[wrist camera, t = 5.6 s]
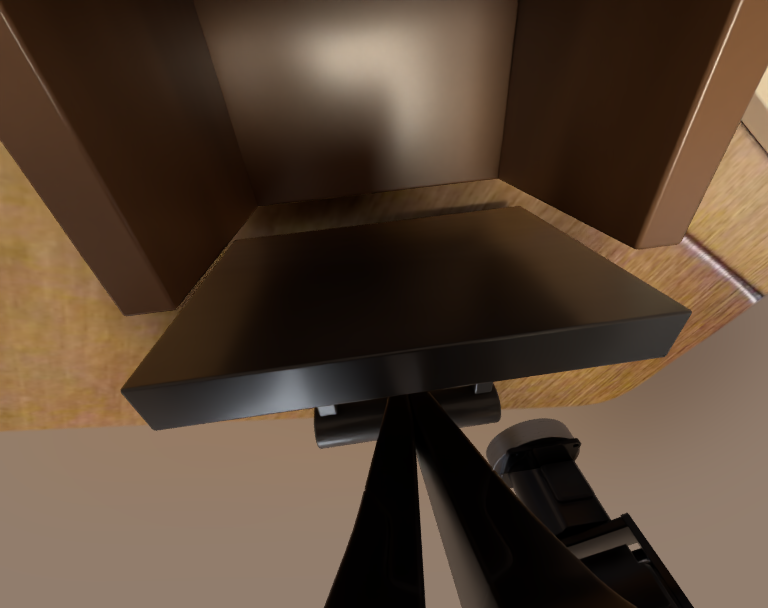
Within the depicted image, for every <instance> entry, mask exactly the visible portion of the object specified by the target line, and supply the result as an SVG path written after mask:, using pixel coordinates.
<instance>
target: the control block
mask: <svg viewBox="0 0 768 608" xmlns="http://www.w3.org/2000/svg"><path fill="white" fill-rule="evenodd" d="M741 120H742V122H743V123H744V124H745V125H746V127H747V128H748V129H749V130H750V132H751V133H752V134H753V135H754V137H755V138H756V139H757V140H758V142H759V143H760V144H761V145H762V147H763V148H764V149H765V150H766V152H767V153H768V67H767V69H766V71H765V73H764V75H763V77H762V79H761V81H760V83H759V85H758V87H757V89H756V91H755V93H754V95H753V97H752V99H751V101H750V103H749V105H748V107H747V109H746V111H745V113H744V115H743V117H742V119H741Z"/></svg>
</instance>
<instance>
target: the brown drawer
mask: <svg viewBox="0 0 768 608" xmlns="http://www.w3.org/2000/svg"><path fill="white" fill-rule="evenodd" d="M767 67H768V0H0V140H1V142H2V143H3V145H4V146H5V148H6V149H7V150H8V152H9V153H10V155H11V156H12V158H13V159H14V160H15V162H16V163H17V165H18V166H19V167H20V169H21V170H22V172H23V173H24V175H25V176H26V177H27V179H28V180H29V182H30V183H31V185H32V186H33V187H34V189H35V190H36V192H37V193H38V195H39V196H40V197H41V199H42V200H43V202H44V203H45V204H46V206H47V207H48V209H49V210H50V212H51V213H52V214H53V216H54V217H55V219H56V220H57V222H58V223H59V224H60V226H61V227H62V229H63V230H64V232H65V233H66V234H67V236H68V237H69V239H70V240H71V241H72V243H73V244H74V246H75V247H76V249H77V250H78V251H79V253H80V254H81V256H82V257H83V259H84V260H85V261H86V263H87V264H88V266H89V267H90V269H91V270H92V271H93V273H94V274H95V276H96V277H97V278H98V280H99V281H100V283H101V284H102V286H103V287H104V288H105V290H106V291H107V293H108V294H109V296H110V297H111V298H112V300H113V301H114V303H115V304H116V306H117V307H118V308H119V310H120V311H121V313H122V314H123V315H124V316H132V315H140V314H147V313H155V312H163V311H171V310H175V309H176V308H177V307H178V306H179V305H180V303H181V302H182V301H183V300H184V298H185V297H186V296H187V295H188V293H189V292H190V291H191V290H192V288H193V287H194V286H195V285H196V283H197V282H198V281H199V280H200V278H201V277H202V276H203V275H204V273H205V272H206V271H207V270H208V268H209V267H210V266H211V265H212V263H213V262H214V261H215V260H216V258H217V257H218V256H219V255H220V253H221V252H222V251H223V250H224V248H225V247H226V246H227V245H228V243H229V242H230V241H231V240H232V238H233V237H234V236H235V235H236V233H237V232H238V231H239V230H240V228H241V227H242V226H243V225H244V223H245V222H246V221H247V220H248V218H249V217H250V216H251V215H252V213H253V212H254V211H255V210H256V208H257V207H258V206H267V205H275V204H284V203H292V202H301V201H310V200H318V199H327V198H335V197H344V196H353V195H361V194H370V193H378V192H387V191H395V190H404V189H413V188H421V187H430V186H438V185H447V184H456V183H464V182H473V181H481V180H490V179H500V180H502V181H504V182H506V183H508V184H510V185H512V186H514V187H516V188H518V189H520V190H522V191H523V192H525V193H527V194H529V195H531V196H533V197H535V198H537V199H539V200H541V201H543V202H545V203H547V204H549V205H551V206H553V207H554V208H556V209H558V210H560V211H562V212H564V213H566V214H568V215H570V216H572V217H574V218H576V219H578V220H580V221H582V222H583V223H585V224H587V225H589V226H591V227H593V228H595V229H597V230H599V231H601V232H603V233H605V234H607V235H609V236H611V237H613V238H614V239H616V240H618V241H620V242H622V243H624V244H626V245H628V246H630V247H632V248H634V249H647V248H655V247H662V246H670V245H677V244H679V243H680V242H681V241H682V239H683V237H684V235H685V233H686V231H687V229H688V227H689V225H690V223H691V221H692V219H693V217H694V215H695V213H696V211H697V209H698V207H699V205H700V203H701V201H702V199H703V197H704V194H705V192H706V190H707V188H708V186H709V184H710V182H711V180H712V178H713V176H714V174H715V172H716V170H717V168H718V166H719V164H720V162H721V160H722V158H723V156H724V154H725V152H726V150H727V148H728V146H729V144H730V142H731V140H732V138H733V136H734V134H735V132H736V129H737V127H738V125H739V123H740V121H741V119H742V117H743V115H744V113H745V111H746V109H747V107H748V105H749V103H750V101H751V99H752V97H753V95H754V93H755V91H756V89H757V87H758V85H759V83H760V81H761V79H762V77H763V75H764V73H765V71H766V69H767ZM691 313H692V311H691V310H690V309H688V308H687V307H685V306H683V305H682V304H680V303H678V302H677V301H675V300H673V299H672V298H670V297H669V296H667V295H665V294H664V293H662V292H660V291H659V290H657V289H655V288H654V287H652V286H650V285H649V284H647V283H646V282H644V281H642V280H641V279H639V278H637V277H636V276H634V275H632V274H631V273H629V272H627V271H626V270H624V269H623V268H621V267H619V266H618V265H616V264H614V263H613V262H611V261H609V260H608V259H606V258H604V257H603V256H601V255H600V254H598V253H596V252H595V251H593V250H591V249H590V248H588V247H586V246H585V245H583V244H582V243H580V242H578V241H577V240H575V239H573V238H572V237H570V236H568V235H567V234H565V233H563V232H562V231H560V230H559V229H557V228H555V227H554V226H552V225H550V224H549V223H547V222H545V221H544V220H542V219H540V218H539V217H537V216H536V215H534V214H532V213H531V212H529V211H527V210H526V209H524V208H522V207H521V206H515V207H506V208H498V209H490V210H482V211H473V212H465V213H457V214H448V215H440V216H432V217H424V218H415V219H407V220H399V221H390V222H382V223H374V224H365V225H357V226H349V227H341V228H332V229H324V230H316V231H307V232H299V233H291V234H283V235H274V236H266V237H258V238H249V239H241V240H235V241H234V242H233V244H232V245H231V246H230V248H229V249H228V250H227V252H226V253H225V254H224V255H223V257H222V258H221V259H220V261H219V262H218V263H217V265H216V266H215V267H214V268H213V270H212V271H211V272H210V274H209V275H208V276H207V278H206V279H205V280H204V281H203V283H202V284H201V285H200V287H199V288H198V289H197V291H196V292H195V293H194V295H193V296H192V297H191V298H190V300H189V301H188V302H187V304H186V305H185V306H184V308H183V309H182V310H181V311H180V313H179V314H178V315H177V317H176V318H175V319H174V321H173V322H172V323H171V324H170V326H169V327H168V328H167V330H166V331H165V332H164V334H163V335H162V336H161V337H160V339H159V340H158V341H157V343H156V344H155V345H154V347H153V348H152V349H151V350H150V352H149V353H148V354H147V356H146V357H145V358H144V360H143V361H142V362H141V363H140V365H139V366H138V367H137V369H136V370H135V371H134V373H133V374H132V375H131V377H130V378H129V379H128V380H127V382H126V383H125V384H124V386H123V387H122V388H121V393H122V395H123V396H124V397H125V398H126V399H127V400H128V401H129V403H130V404H131V405H132V406H133V407H134V408H135V410H136V411H137V412H138V413H139V414H140V415H141V417H142V418H143V419H144V420H145V421H146V422H147V424H148V425H149V426H150V427H151V428H152V429H153V430H156V431H157V430H163V429H170V428H177V427H184V426H191V425H198V424H205V423H212V422H219V421H226V420H233V419H239V418H246V417H253V416H260V415H267V414H274V413H281V412H288V411H295V410H302V409H308V408H315V409H314V430H315V437H316V442H317V445H318V447H319V448H321V449H323V448H329V447H335V446H343V445H349V444H356V443H363V442H368V441H376V440H377V439H378V435H379V431H380V427H381V423H382V420H383V416H384V412H385V408H386V404H387V400H388V397H391V396H398V395H405V394H412V393H419V392H426V391H429V392H430V393H431V395H432V396H433V397H434V398H435V399H436V401H437V402H438V403H439V404H440V405H441V407H442V408H443V409H444V410H445V411H446V413H447V414H448V415H449V416H450V417H451V419H452V420H453V421H454V422H455V424H456V425H457V426H458V427H459V428H462V427H469V426H475V425H482V424H489V423H495V422H498V421H499V420H500V418H501V405H500V400H499V396H498V393H497V390H496V388H495V386H494V384H493V382H495V381H502V380H509V379H516V378H522V377H529V376H536V375H543V374H550V373H557V372H564V371H571V370H578V369H585V368H591V367H598V366H605V365H612V364H619V363H626V362H633V361H640V360H647V359H654V358H660V357H665V356H666V355H667V354H668V352H669V350H670V349H671V347H672V345H673V344H674V342H675V340H676V339H677V337H678V335H679V334H680V332H681V330H682V329H683V327H684V325H685V324H686V322H687V320H688V319H689V317H690V315H691Z"/></svg>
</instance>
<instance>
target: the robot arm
mask: <svg viewBox="0 0 768 608" xmlns="http://www.w3.org/2000/svg"><path fill="white" fill-rule="evenodd" d="M580 446H581V442H580V441H579V439H578V438H571V439H565V440H558V441H552V442H545V443H539V444H532V445H526V446H519V447H513V448H510V449H508V450H507V451H506V455H505V458H504V462H503V466H502V470H501V474H500V476H499V475H498V474H497V473H496V471H494V470H493V471H492V467H491V466H490V464H489V463H488V462H487V461H486V460H485V459H484V457H483V456H482V455H481V454H480V452H479V451H478V450H477V449H476V448H475V446H474V445H473V444H472V443H471V442H470V440H469V439H468V438H467V437H466V436H465V434H464V433H463V432H462V431H461V430H460V429H459V427H458V426H457V425H456V424H455V422H454V421H453V420H452V419H451V417H450V416H449V415H448V414H447V413H446V411H445V410H444V409H443V408H442V407H441V405H440V404H439V403H438V402H437V401H436V399H435V398H434V397H433V396H432V395H431V393H430V392H429V391H426V392H419V393H412V394H405V395H398V396H391V397H388V400H387V404H386V408H385V412H384V416H383V420H382V423H381V427H380V431H379V435H378V439H377V443H376V447H375V451H374V455H373V458H372V462H371V466H370V470H369V474H368V478H367V481H366V486H365V491H364V492H363V496H362V500H361V504H360V508H359V511H358V515H357V518H356V521H355V525H354V528H353V532H352V534H351V537H350V540H349V542H348V546H347V548H346V551H345V554H344V556H343V559H342V562H341V564H340V567H339V570H338V572H337V575H336V578H335V580H334V583H333V585H332V588H331V590H330V593H329V596H328V598H327V601H326V604H325V606H324V608H426V607H425V590H424V575H423V559H422V542H421V526H420V510H419V495H418V478H417V463H416V462H417V461H416V455H417V458H418V461H419V465H420V469H421V472H422V475H423V479H424V482H425V485H426V489H427V492H428V495H429V499H430V502H431V505H432V509H433V512H434V516H435V519H436V522H437V526H438V529H439V532H440V536H441V539H442V542H443V546H444V549H445V552H446V556H447V559H448V562H449V566H450V569H451V573H452V576H453V579H454V583H455V586H456V589H457V593H458V596H459V599H460V603H461V606H462V608H694V607H693V606H692V604H691V603H690V602H689V600H688V598H687V597H686V596H685V594H684V593H683V591H682V590H681V589H680V587H679V585H678V584H677V583H676V581H675V580H674V578H673V577H672V575H671V574H670V573H669V571H668V570H667V568H666V567H665V565H664V564H663V562H662V561H661V560H660V558H659V557H658V555H657V554H656V552H655V551H654V550H653V548H652V547H651V545H650V544H649V542H648V541H647V540H646V538H645V537H644V535H643V534H642V532H641V531H640V530H639V528H638V527H637V525H636V524H635V522H634V521H633V520H632V518H631V517H630V515H629V514H628V513H625V514H622V515H621V517H619V518H616V519H614V520H611V519H610V517H609V516H608V514H607V513H606V511H605V510H604V508H603V507H602V505H601V503H600V502H599V500H598V499H597V497H596V495H595V493H594V491H593V490H592V488H591V486H590V485H589V483H588V482H587V480H586V479H585V477H584V475H583V474H582V472H581V471H580V469H579V468H578V466H577V465H576V463H575V461H574V458H575V456H576V454H577V452H578V450H579V448H580ZM510 488H514V491H515V493H516V495H517V496H516V495H515V494H514V493H513V492H512V490H511V489H510ZM634 543H638V544H639V546H640V547H641V548H640V549H637V550H634V551H631V550H630V549H629V547H628V545H631V544H634Z"/></svg>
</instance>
